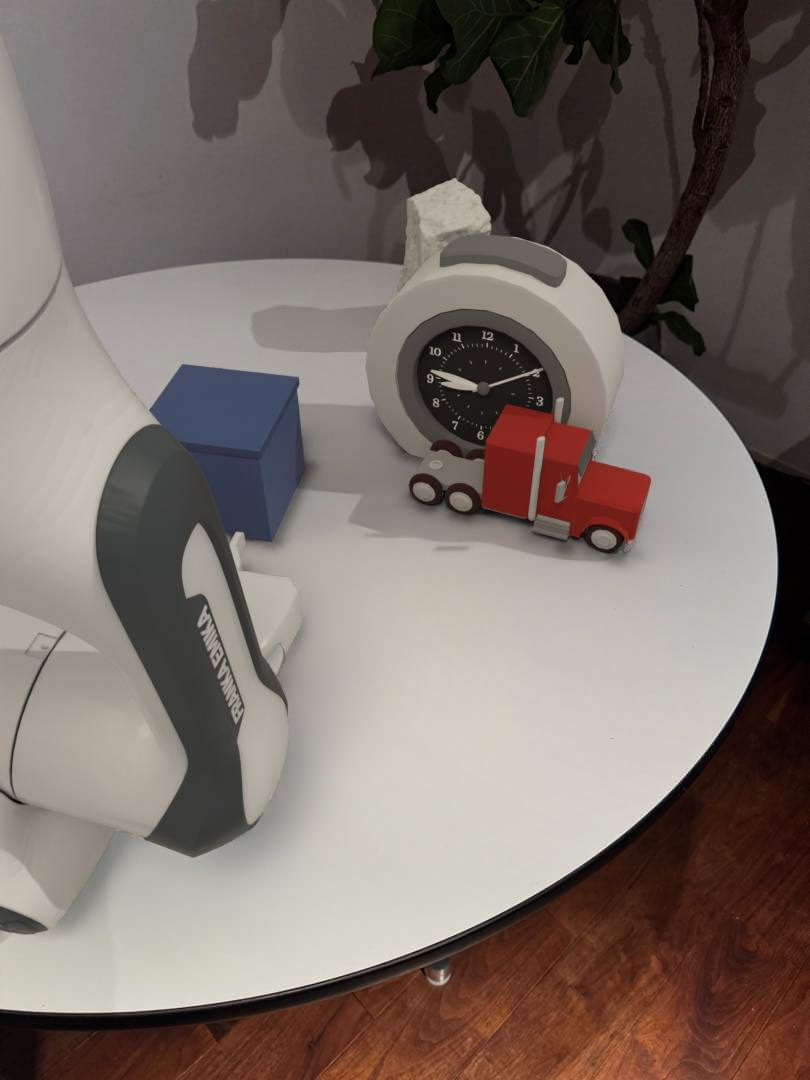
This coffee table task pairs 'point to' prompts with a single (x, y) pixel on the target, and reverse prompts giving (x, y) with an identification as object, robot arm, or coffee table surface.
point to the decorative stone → (440, 223)
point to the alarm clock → (493, 344)
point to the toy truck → (538, 479)
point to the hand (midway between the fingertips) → (194, 531)
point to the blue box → (239, 440)
